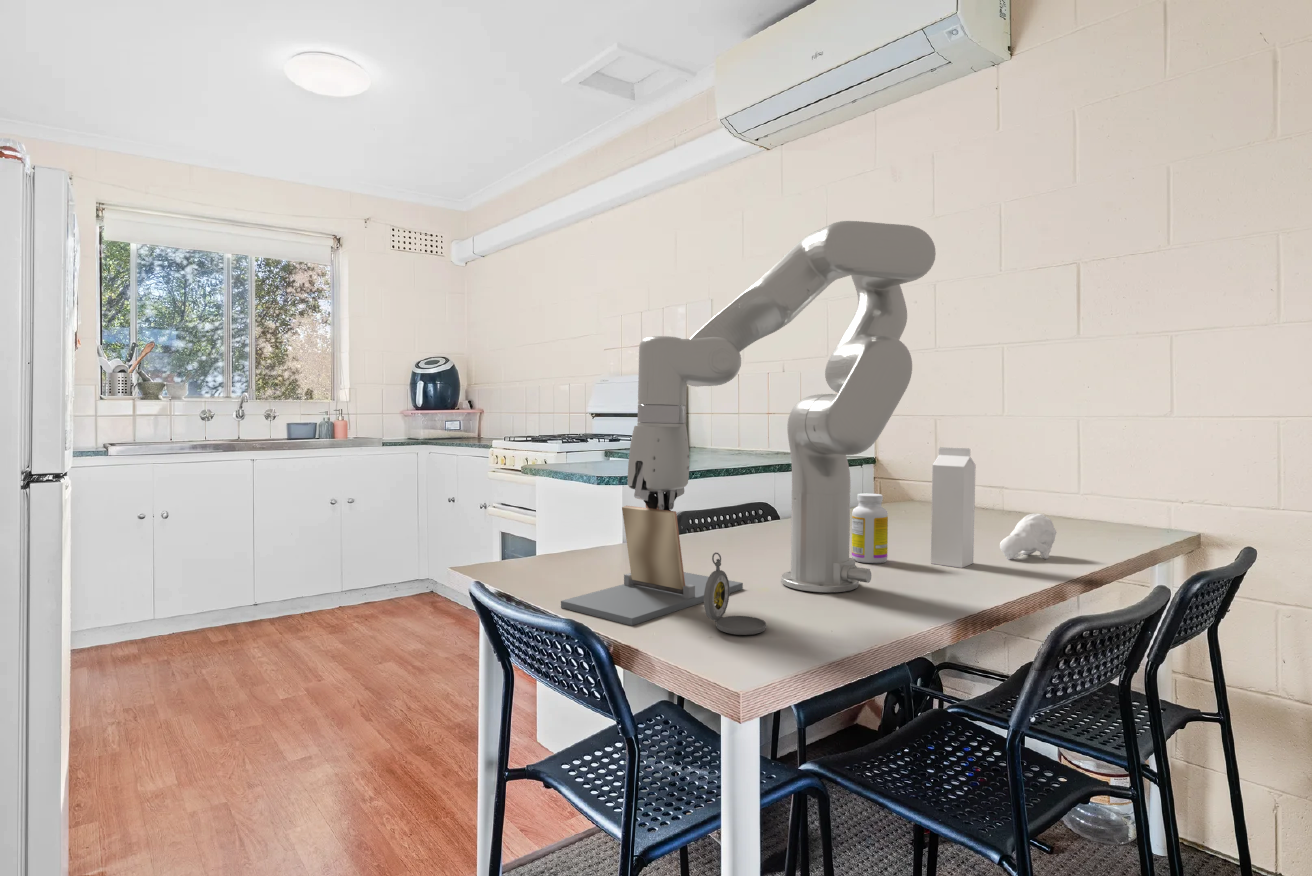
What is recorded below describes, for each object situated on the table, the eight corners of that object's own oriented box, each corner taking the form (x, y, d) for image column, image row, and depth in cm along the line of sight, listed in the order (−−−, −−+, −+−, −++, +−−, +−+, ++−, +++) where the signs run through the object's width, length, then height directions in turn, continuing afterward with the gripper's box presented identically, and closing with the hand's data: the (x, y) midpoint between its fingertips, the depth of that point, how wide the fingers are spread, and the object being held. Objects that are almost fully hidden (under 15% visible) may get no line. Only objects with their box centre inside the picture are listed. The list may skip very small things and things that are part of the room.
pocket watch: (771, 637, 97) (772, 560, 96) (706, 638, 96) (707, 561, 96) (757, 619, 105) (758, 548, 104) (698, 620, 104) (698, 548, 104)
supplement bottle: (888, 558, 147) (889, 493, 146) (885, 565, 141) (887, 497, 140) (853, 556, 149) (854, 491, 149) (849, 562, 143) (850, 495, 143)
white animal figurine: (1059, 514, 148) (1016, 523, 143) (1060, 556, 148) (1018, 567, 143) (1031, 510, 153) (988, 519, 148) (1032, 551, 154) (990, 561, 149)
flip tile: (676, 511, 111) (671, 513, 111) (686, 593, 114) (682, 595, 113) (626, 505, 118) (621, 507, 117) (636, 583, 120) (632, 585, 120)
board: (742, 589, 122) (742, 572, 122) (631, 625, 101) (631, 605, 101) (675, 576, 131) (675, 560, 131) (560, 607, 110) (560, 589, 110)
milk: (962, 568, 139) (964, 449, 138) (929, 563, 143) (932, 447, 142) (973, 563, 143) (976, 447, 142) (942, 558, 147) (944, 446, 146)
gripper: (673, 417, 124) (670, 527, 125) (610, 416, 113) (608, 537, 114) (710, 418, 120) (707, 532, 120) (648, 417, 108) (645, 544, 109)
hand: (659, 534), depth 117 cm, fingers closed
